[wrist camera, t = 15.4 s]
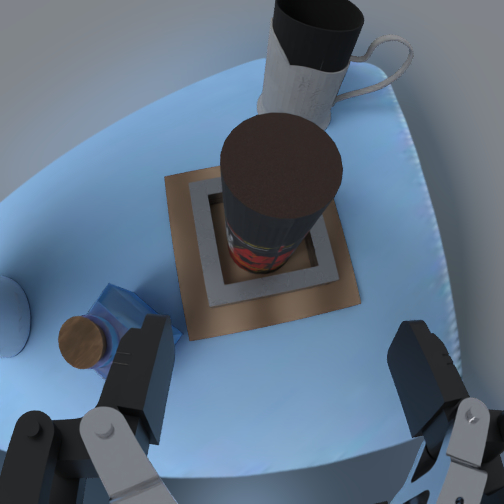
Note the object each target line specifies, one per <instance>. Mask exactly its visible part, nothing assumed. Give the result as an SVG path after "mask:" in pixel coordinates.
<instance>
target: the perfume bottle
mask: <svg viewBox="0 0 504 504" xmlns="http://www.w3.org/2000/svg"><path fill="white" fill-rule="evenodd" d="M146 314H158V313H157V312H156V311H154V310H153V309H152V308H151V307H150V306H149V305H147V304H146V303H145V302H144V301H143V300H142V299H140V298H139V297H138V296H137V295H136V294H135V293H134V292H131V291H128V290H126V289H123V288H120V287H118V286H115V285H112V284H110V283H109V284H108V285H107V286H106V288H105V289H104V291H103V292H102V293H101V295H100V296H99V297H98V299H97V300H96V302H95V303H94V304H93V306H92V307H91V309H90V310H89V311H88V313H87V314H86V315H82V316H75V317H72V318H70V319H68V320H67V321H66V322H65V323H64V324H63V325H62V327H61V329H60V331H59V338H58V342H59V348H60V351H61V354H62V356H63V357H64V359H65V360H66V361H67V362H68V363H69V364H70V365H72V366H73V367H76V368H78V369H93V370H95V371H96V372H97V373H98V374H99V375H100V376H101V377H102V378H103V379H104V380H105V381H106V378H107V375H108V373H109V370H110V367H111V364H112V363H113V358H114V356H115V354H116V350H117V348H118V345H119V342H120V340H121V338H122V337H123V336H124V335H125V333H126V332H127V331H128V330H129V329H130V328H140V329H141V327H142V324H143V321H144V318H145V316H146ZM172 332H173V338H174V345H175V344H176V343H177V341H178V340H179V339H180V337H181V336H182V335H183V333H181V332H180V331H179V330H178V329H176V328H175V327H174V326H173V325H172Z"/></svg>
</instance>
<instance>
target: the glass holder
mask: <svg viewBox="0 0 504 504" xmlns="http://www.w3.org/2000/svg"><path fill="white" fill-rule="evenodd" d="M363 24H364V17H363V14H362V12H361V11H360V10H359V8H357V7H356V6H355V5H354V4H353V3H351V2H350V1H348V0H275V8H274V17H273V18H271V24H270V32H269V40H268V48H267V57H266V65H265V74H264V83H263V91H262V94H261V95H260V97H259V99H258V102H257V112H258V115H260V114H265V113H271V112H276V113H289V114H293V115H297V116H301V117H303V118H305V119H307V120H309V121H311V122H313V123H315V124H316V125H318V126H319V127H320V128H321V129H323V130H324V131H325V129H326V128H327V127H328V125H329V123H330V119H331V111H330V110H331V108H332V107H333V106H334V105H335V103H336V102H338V101H341V100H344V99H348V98H351V97H355V96H359V95H363V94H366V93H370V92H374V91H377V90H380V89H382V88H384V87H386V86H388V85H389V84H391V83H392V82H394V81H395V80H397V79H398V78H399V77H400V76H401V75H402V74H403V73H404V72H405V71H406V69H407V68H408V67H409V65H410V64H411V62H412V59H413V49H412V47H411V45H410V44H409V42H408V41H406V40H405V39H404V38H402V37H399V36H397V35H385V36H381V37H379V38H377V39H376V40H374V41H373V43H371V45H370V46H369V48H368V50H367V52H366V54H365V55H364V56H361V57H357V56H352V55H351V54H352V51H353V49H354V47H355V44H356V41H357V39H358V36H359V34H360V31H361V29H362V26H363ZM386 41H399V42H401V43H403V44H405V45H406V46H407V47H408V48H409V52H410V53H409V55H408V58H407V60H406V61H405V63H404V64H403V65H402V67H401V68H400V69H399V70H398V71H397V72H396V73H395V74H393V75H392V76H390V77H389V78H387V79H386V80H384V81H382V82H380V83H378V84H375V85H372V86H369V87H366V88H363V89H359V90H355V91H351V92H348V93H344V94H341V95H338V96H337V94H338V91H339V89H340V86H341V84H342V81H343V79H344V77H345V74H346V72H347V69H348V67H349V64H350V61H352V62H365V61H367V60H368V59H369V58H370V56H371V54H372V52H373V51H374V49H375V48H376V47H377V46H378V45H379V44H381V43H383V42H386Z"/></svg>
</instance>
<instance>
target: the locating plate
mask: <svg viewBox="0 0 504 504" xmlns="http://www.w3.org/2000/svg"><path fill="white" fill-rule="evenodd" d="M164 178H165V187H166V196H167V204H168V212H169V220H170V228H171V235H172V242H173V249H174V255H175V262H176V268H177V274H178V281H179V286H180V292H181V298H182V304H183V309H184V315H185V320H186V325H187V330H188V335H189V340H190V341H194V340H200V339H205V338H211V337H216V336H222V335H227V334H232V333H237V332H242V331H247V330H252V329H257V328H262V327H267V326H271V325H276V324H280V323H285V322H289V321H294V320H298V319H302V318H307V317H311V316H315V315H319V314H323V313H327V312H331V311H335V310H339V309H343V308H347V307H350V306H354V305H358V304H361V300H360V296H359V291H358V287H357V283H356V279H355V275H354V271H353V267H352V263H351V259H350V255H349V251H348V247H347V244H346V240H345V236H344V233H343V229H342V226H341V222H340V219H339V215H338V212H337V208H336V205H335V202H334V198H333V200H332V201H331V202H330V204H329V205H328V206H327V208H326V209H325V211H324V212H323V213H322V215H321V216H320V217H319V219H318V220H317V221H316V223H315V224H314V226H313V227H312V228H311V230H310V231H309V232H308V234H307V235H306V236H305V238H304V239H303V240H302V242H301V243H300V244H299V246H298V247H297V248H296V250H295V251H294V252H293V254H292V255H291V256H290V258H289V259H288V260H287V262H286V263H285V264H284V265H283V266H282V267H281V268H279V269H278V270H276V271H275V272H272V273H268V274H258V275H257V274H252V273H248V272H247V271H245V270H243V269H241V268H240V267H239V266H238V265H237V264H236V263H235V262H234V261H233V259H232V258H231V256H230V253H229V250H228V245H227V235H226V225H225V214H224V204H223V193H222V182H221V171H220V166H216V167H211V168H205V169H200V170H195V171H190V172H185V173H180V174H175V175H170V176H165V177H164Z"/></svg>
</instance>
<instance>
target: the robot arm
mask: <svg viewBox="0 0 504 504" xmlns="http://www.w3.org/2000/svg"><path fill="white" fill-rule="evenodd" d="M30 323H31V319H30V309H29V303H28V300H27V297H26V295H25V293H24V291H23V289H22V288H21V287H20V285H19V284H18V283H17V282H15V281H14V280H13V279H10V278H8V277H4V276H1V275H0V358H9V357H13V356H15V355H17V354H18V353H19V352H20V351H21V350H22V349H23V347H24V346H25V344H26V341H27V339H28V336H29V332H30ZM448 354H449V353H448V351H447V349H446V347H445V346H444V344H443V342H442V341H441V340H440V339H439V338H438V337H437V336H436V335H435V334H434V333H431V332H430V331H429V329H428V327H427V325H426V323H425V322H424V321H423V320H412V321H403V322H402V323H401V325H400V327H399V329H398V331H397V333H396V335H395V337H394V339H393V341H392V343H391V345H390V347H389V350H388V354H387V362H388V366H389V369H390V372H391V375H392V378H393V380H394V383H395V386H396V389H397V392H398V395H399V398H400V401H401V404H402V407H403V410H404V413H405V416H406V419H407V423H408V426H409V429H410V432H411V436H412V438H414V437H418V436H424V439H425V441H423V443H422V444H421V447H420V449H419V452H418V454H417V457H416V459H415V462H414V464H413V466H412V469H411V471H410V473H409V476H408V478H407V480H406V482H405V484H404V486H403V487H402V489H401V490H400V491H399V492H398V493H397V495H396V496H395V497H394V499H393V500H392V502H391V503H390V504H504V467H503V464H502V461H501V457H500V454H501V453H502V452H503V451H504V411H501V410H488V409H487V407H486V405H485V404H484V403H483V402H482V401H480V400H479V399H476V398H470V396H469V395H468V392H467V390H466V388H465V386H464V384H463V381H462V379H461V377H460V375H459V373H458V371H457V369H456V367H455V365H453V361H452V359H451V357H450V356H449V355H448ZM174 360H175V345H174V338H173V332H172V325H171V319H170V316H169V315H160V314H146V316H145V318H144V321H143V324H142V327H141V329H140V328H130V329H129V330H128V331H127V332H126V333H125V335H124V336H123V337H122V338H121V340H120V342H119V345H118V348H117V350H116V354H115V356H114V358H113V363H112V364H111V367H110V370H109V373H108V375H107V378H106V381H105V384H104V387H103V390H102V393H101V396H100V399H99V402H98V404H97V406H96V407H95V408H94V409H92V410H90V411H89V412H87V413H86V414H85V415H84V417H81V418H77V419H67V420H51V419H50V417H49V416H48V415H47V414H45V413H43V412H41V411H29V412H26V413H25V414H23V415H22V416H21V417H20V418H19V419H18V421H17V423H16V425H15V428H14V431H13V434H12V437H11V440H10V443H9V447H8V450H7V454H6V457H5V460H4V464H3V468H2V472H1V476H0V504H83V498H84V491H85V485H86V479H87V478H97V477H100V479H101V481H102V483H103V484H104V486H105V489H106V490H107V492H108V495H109V498H110V499H109V503H110V504H178V503H177V502H176V500H175V499H174V497H173V496H172V494H171V493H170V492H169V490H168V489H167V487H166V486H165V484H164V483H163V481H162V480H161V478H160V477H159V475H158V474H157V472H156V470H155V469H154V467H153V466H152V464H151V462H150V461H149V459H148V458H147V454H148V449H149V444H154V445H159V441H160V435H161V430H162V424H163V418H164V413H165V407H166V402H167V397H168V391H169V386H170V381H171V376H172V371H173V366H174ZM376 504H388V502H387V501H386V502H381V503H376Z"/></svg>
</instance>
